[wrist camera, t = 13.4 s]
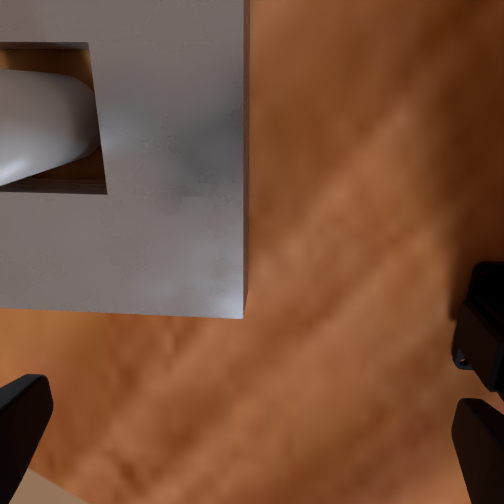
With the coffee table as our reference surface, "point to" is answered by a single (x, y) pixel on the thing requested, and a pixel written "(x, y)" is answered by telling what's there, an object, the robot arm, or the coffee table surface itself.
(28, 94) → the plug
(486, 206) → the coffee table surface
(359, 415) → the coffee table surface
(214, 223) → the housing
